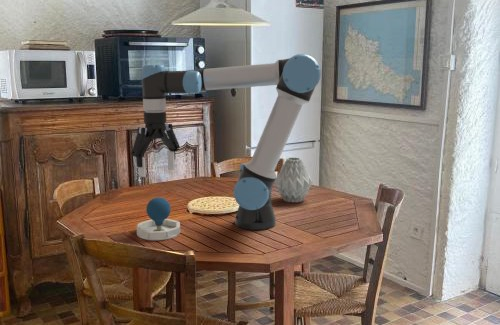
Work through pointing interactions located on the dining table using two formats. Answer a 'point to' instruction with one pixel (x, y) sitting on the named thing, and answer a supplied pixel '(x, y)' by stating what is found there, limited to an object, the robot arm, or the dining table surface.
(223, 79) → the robot arm
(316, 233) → the dining table surface
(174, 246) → the dining table surface
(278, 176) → the vase
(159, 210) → the light bulb
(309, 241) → the dining table surface
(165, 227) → the lamp base
